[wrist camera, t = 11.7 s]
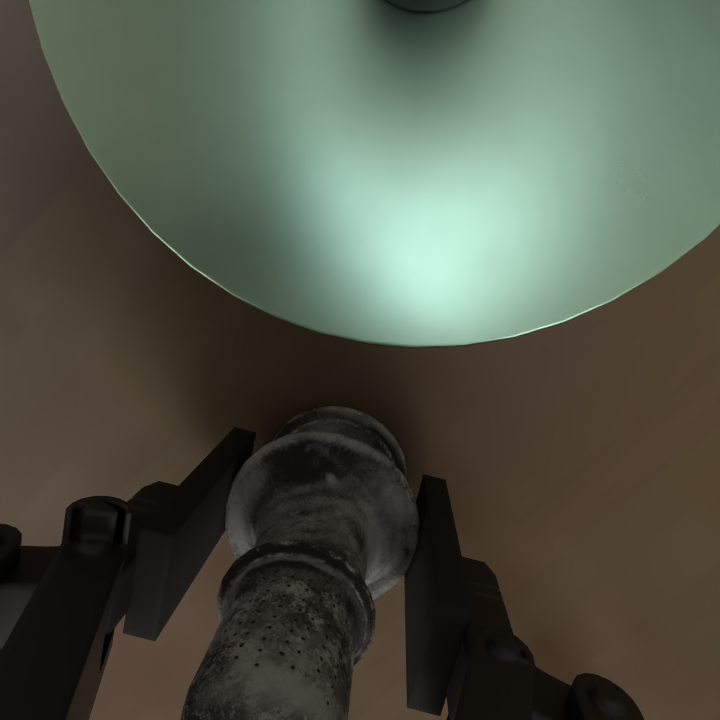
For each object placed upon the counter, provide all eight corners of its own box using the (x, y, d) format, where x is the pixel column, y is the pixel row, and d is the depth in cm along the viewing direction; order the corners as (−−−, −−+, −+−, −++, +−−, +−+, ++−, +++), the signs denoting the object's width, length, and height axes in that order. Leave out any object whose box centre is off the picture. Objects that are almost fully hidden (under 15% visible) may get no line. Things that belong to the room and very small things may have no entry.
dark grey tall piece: (343, 575, 19) (261, 1066, 8) (224, 478, 19) (-57, 842, 7) (449, 470, 18) (542, 860, 6) (325, 364, 18) (186, 576, 6)
